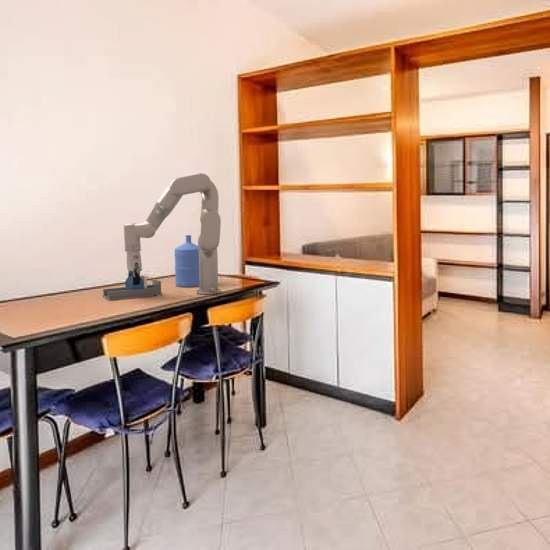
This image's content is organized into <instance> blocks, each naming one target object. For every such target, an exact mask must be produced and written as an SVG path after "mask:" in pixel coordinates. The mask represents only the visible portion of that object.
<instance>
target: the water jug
mask: <svg viewBox="0 0 550 550" xmlns="http://www.w3.org/2000/svg"><path fill="white" fill-rule="evenodd" d="M174 272H175V286H176V287H178V286H181V287H180V288H196V287H195V286H198V287H200V286H199V250H198V244H195V243H193V242H192V235H189V234H187V235H185V243H183V244H180V245H179V246H177V247H175V248H174Z"/></svg>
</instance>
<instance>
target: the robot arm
mask: <svg viewBox="0 0 550 550" xmlns="http://www.w3.org/2000/svg"><path fill="white" fill-rule="evenodd" d="M195 193H200V195H201V209H200V217H199V219H200V220H199V222H200V234H199V235H198V239H197V246H198V250H199V286H198V287H199V289H197V290H196V294H198V293H199V295H214V294H213V293H218V294H220V293H219V292H221V293H222V289H220V288H219V268H218V267H219V263H218V262H219V259H218V258H219V257H218V255H219V254H218V247H219V245H220V239H221V225H222V224H221V223H222V222H221V216H220V214H219V191H218V189H217V186H216V185H215V183H214V182H213V181H212V180H211V178H210V176H209V175H208V174H206V173H196V174H192V175H187V176H182V177H175V178H173V179H172V180H171V181H170V183H169V184H168V186H167V187H166V188H165V190H164V191H163V192H162V194H161V195H160V197H159V198H158V199H157V201H156V202H155V204H154V206H153V209H152V210H151V211H150V212H149V214H148V216H147V217H146V219H145V220H144V222H143V223H136V222H130V223H129V222H128V223H125V224H124V225H123V234H124V235H123V237H124V239H123V240H124V252H126V268H127V271H128V272H127V277H128V276H131V274H130V272H131V271H132V272H133V274H134V277H133V282H134V285H140V275H141V272H142V270H143V264H142V256H141V251H142V249H141V247H142V246H141V238H142V239H150V238H153V237H154V236H155V234H156V232H157V231H158V229H159V228H160V226H161V225H162V224H163V223H164V220H165V219H166V218H168V217H169V215H170V214H171V213H172V212H173V210H174V209H175V208H176V206H177V205H178V203H179V202H180V200H181V199H182V198H183V196H185V195H191V194H195ZM134 270H135V271H134ZM135 272H136V273H135Z"/></svg>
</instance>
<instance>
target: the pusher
mask: <svg viewBox="0 0 550 550" xmlns="http://www.w3.org/2000/svg"><path fill="white" fill-rule="evenodd" d="M140 277H141V279H142V280H143V288H147V285H148V284H147V282H148V281H147V279H149V278H150V276H148V275H146V274H140Z"/></svg>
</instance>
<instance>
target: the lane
mask: <svg viewBox="0 0 550 550" xmlns="http://www.w3.org/2000/svg"><path fill="white" fill-rule="evenodd" d="M151 280H152V284H147V288H143V289H132V290H126V287H125V286H124V287H123V286H122V287H111V288H103V289H102V297H103V298H104V297H105V298H104V299H106V300H107V299H108V301H109V300H110V301H117V299H120V300H127V299H126V298H130V299H136V298H135V297H140V298H146V297H145V296H150V297H155V296H154V295H160V296H163V292H162V280H161V281H160V280H159V279H155V278H152V279H151Z"/></svg>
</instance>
